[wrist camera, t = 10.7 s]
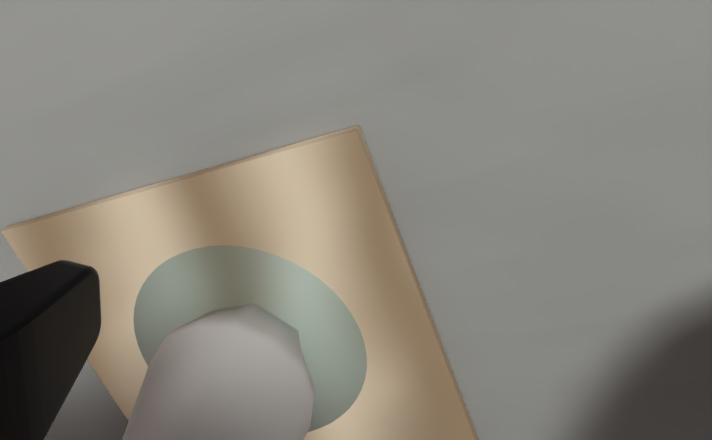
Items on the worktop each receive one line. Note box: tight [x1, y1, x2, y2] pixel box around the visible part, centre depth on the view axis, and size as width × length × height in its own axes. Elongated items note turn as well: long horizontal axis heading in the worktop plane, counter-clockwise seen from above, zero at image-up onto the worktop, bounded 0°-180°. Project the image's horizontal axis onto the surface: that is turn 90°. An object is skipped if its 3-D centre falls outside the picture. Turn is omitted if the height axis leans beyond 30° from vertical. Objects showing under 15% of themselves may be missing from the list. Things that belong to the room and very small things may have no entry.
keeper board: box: [1, 125, 478, 440], centre depth 25 cm, size 14×14×1 cm
